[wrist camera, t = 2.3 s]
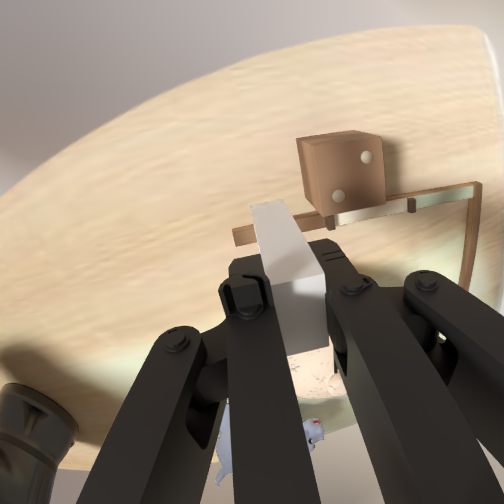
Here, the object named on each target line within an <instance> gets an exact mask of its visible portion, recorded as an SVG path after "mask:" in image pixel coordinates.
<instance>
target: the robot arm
mask: <svg viewBox="0 0 504 504" xmlns="http://www.w3.org/2000/svg"><path fill="white" fill-rule="evenodd" d="M250 210H251V214H252V219H253V224H254V229H255V233H256V238H257V243H258V248H259V252H260V254H256V255H251V256H247V257H242V258H237V259H234V260H233V261H232V263H231V264H230V266H229V278H227V279H226V280H225V281H224V282H223V283H222V284H221V285H220V287H219V290H218V292H219V296H220V299H221V302H222V305H223V308H224V312H225V315H226V319H225V320H224V321H223V322H222V323H221V324H219V325H218V326H216V327H214V328H212V329H210V330H208V331H206V332H203V333H201V334H200V333H199V331H198V330H197V329H195V328H194V327H190V326H179V327H174V328H172V329H169V330H167V331H166V332H164V333H163V334H161V335H160V336H159V337H158V339H157V340H156V341H155V343H154V345H153V347H152V348H151V350H150V352H149V354H148V356H147V358H146V360H145V362H144V364H143V366H142V367H141V369H140V371H139V373H138V375H137V377H136V379H135V381H134V383H133V385H132V387H131V389H130V391H129V393H128V395H127V397H126V399H125V401H124V403H123V405H122V407H121V409H120V411H119V413H118V415H117V417H116V419H115V421H114V423H113V425H112V427H111V429H110V431H109V433H108V435H107V437H106V439H105V441H104V444H103V446H102V448H101V450H100V452H99V454H98V456H97V458H96V460H95V463H94V465H93V467H92V469H91V471H90V473H89V476H88V478H87V480H86V482H85V484H84V487H83V489H82V491H81V493H80V496H79V498H78V500H77V502H76V504H200V501H201V497H202V494H203V490H204V486H205V483H206V479H207V475H208V472H209V468H210V464H211V460H212V457H213V453H214V449H215V445H216V442H217V438H218V434H219V430H220V426H221V423H222V419H223V415H224V411H225V407H226V403H227V398H229V417H230V437H231V455H232V472H233V487H234V502H235V504H321V501H320V496H319V492H318V488H317V483H316V479H315V475H314V470H313V466H312V462H311V457H310V452H309V448H308V444H307V439H306V435H305V431H304V427H303V422H302V418H301V414H300V409H299V405H298V401H297V397H296V392H295V388H294V384H293V380H292V375H291V371H290V367H289V363H288V359H287V356H290V355H295V354H299V353H304V352H308V351H312V350H316V349H320V348H324V347H328V346H329V336H330V339H331V341H332V344H333V358H334V374H336V373H338V370H339V373H340V376H341V378H342V381H343V384H344V386H345V389H346V392H347V395H348V397H349V400H350V403H351V405H352V408H353V411H354V414H355V417H356V419H357V422H358V425H359V428H360V431H361V433H362V436H363V439H364V442H365V445H366V448H367V451H368V454H369V456H370V459H371V462H372V465H373V468H374V471H375V474H376V477H377V480H378V483H379V486H380V489H381V492H382V496H383V499H384V502H385V504H504V493H503V491H502V488H501V486H500V484H499V482H498V480H497V478H496V476H495V474H494V472H493V469H492V467H491V465H490V463H489V461H488V460H487V458H486V456H485V454H484V452H483V450H482V448H481V446H480V444H479V442H478V441H477V439H478V440H479V441H480V442H481V444H482V445H483V446H484V447H485V448H486V449H487V450H488V451H489V452H490V453H491V454H492V455H493V456H494V458H495V459H496V460H497V461H498V462H499V463H500V464H501V465H502V466H503V468H504V317H503V316H502V315H501V314H500V313H498V312H497V311H495V310H494V309H492V308H491V307H490V306H488V305H487V304H485V303H484V302H482V301H481V300H479V299H478V298H477V297H475V296H474V295H472V294H471V293H469V292H468V291H466V290H465V289H463V288H462V287H460V286H459V285H457V284H455V283H454V282H452V281H451V280H449V279H448V278H446V277H445V276H443V275H441V274H439V273H437V272H434V271H429V270H420V271H416V272H413V273H411V274H409V275H408V276H407V277H406V279H405V282H404V287H379V286H378V284H377V283H376V282H375V281H374V280H373V279H372V278H371V277H368V276H365V275H362V274H359V273H358V272H357V271H356V269H355V268H354V266H353V265H352V264H351V262H350V261H349V259H348V258H347V257H346V255H345V254H344V252H343V251H342V250H341V248H340V247H339V246H338V244H337V243H335V242H333V241H331V240H329V239H327V238H326V239H321V240H317V241H312V242H307V241H306V239H305V237H304V236H303V234H302V232H301V230H300V229H299V227H298V225H297V223H296V222H295V220H294V218H293V216H292V215H291V213H290V211H289V209H288V208H287V206H286V204H285V203H284V201H283V199H281V200H276V201H271V202H266V203H261V204H256V205H252V206H250ZM439 332H440V333H441V334H442V335H444V336H445V337H446V340H443V339H442V338H440V337H439ZM77 435H78V426H77V424H76V422H75V421H74V420H73V418H72V417H71V416H70V415H69V414H68V413H67V412H66V411H65V410H64V409H63V408H61V407H60V406H59V405H58V404H56V403H55V402H53V401H52V400H50V399H49V398H47V397H46V396H44V395H42V394H41V393H39V392H37V391H35V390H33V389H30V388H28V387H25V386H22V385H18V384H6V385H4V386H3V387H2V389H1V391H0V504H49V503H50V499H51V493H52V489H53V485H54V480H55V476H56V472H57V468H58V465H59V463H60V462H61V461H62V460H63V458H64V457H65V455H66V454H67V452H68V451H69V449H70V448H71V447H72V446H73V445H74V444H75V442H76V439H77Z"/></svg>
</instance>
